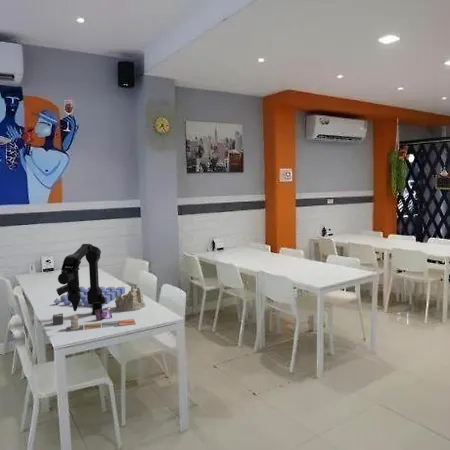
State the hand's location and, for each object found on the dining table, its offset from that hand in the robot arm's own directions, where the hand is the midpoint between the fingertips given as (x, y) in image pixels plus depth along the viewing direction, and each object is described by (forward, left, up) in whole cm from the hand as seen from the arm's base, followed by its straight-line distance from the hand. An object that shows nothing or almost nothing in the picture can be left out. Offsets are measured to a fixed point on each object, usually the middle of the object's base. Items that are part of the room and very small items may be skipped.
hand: (75, 308), depth 225 cm
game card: (-11, +14, -11) cm, 21 cm away
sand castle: (-29, +31, -11) cm, 45 cm away
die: (-12, -10, -11) cm, 19 cm away
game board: (0, +13, -11) cm, 17 cm away
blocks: (-60, +7, -12) cm, 62 cm away
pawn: (0, -1, -11) cm, 11 cm away
